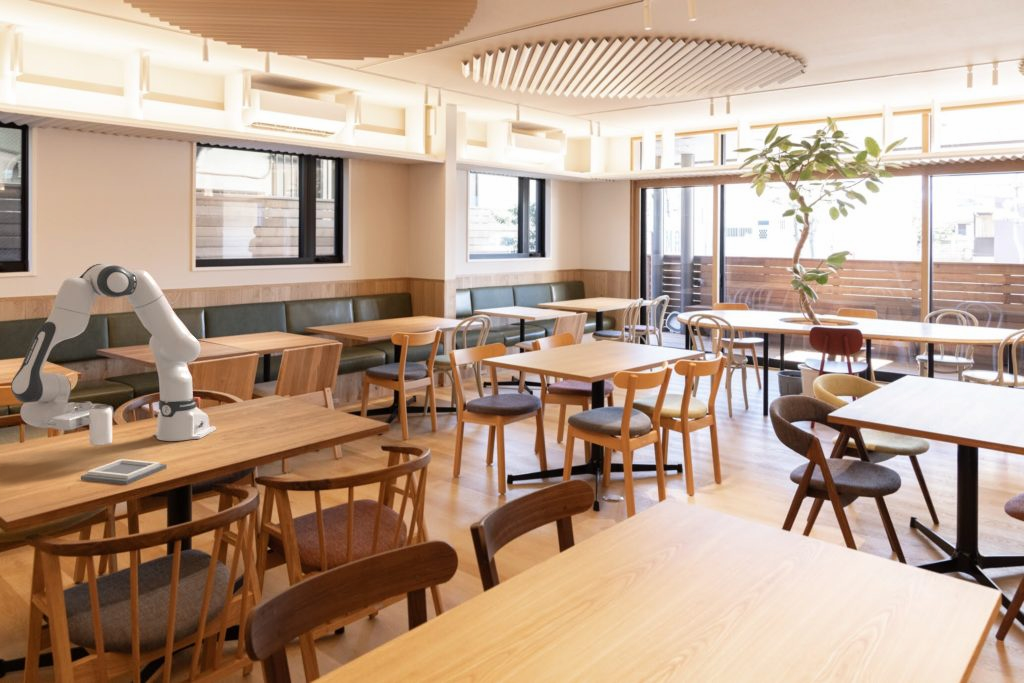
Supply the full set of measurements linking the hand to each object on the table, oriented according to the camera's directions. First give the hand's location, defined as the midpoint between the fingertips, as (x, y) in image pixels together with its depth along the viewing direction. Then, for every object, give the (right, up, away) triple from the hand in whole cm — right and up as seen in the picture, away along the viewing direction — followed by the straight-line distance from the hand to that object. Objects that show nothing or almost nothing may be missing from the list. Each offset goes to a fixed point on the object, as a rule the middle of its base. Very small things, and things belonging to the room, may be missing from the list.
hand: (104, 419), depth 254 cm
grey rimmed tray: (+11, -16, -8) cm, 21 cm away
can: (-1, -8, +1) cm, 8 cm away
